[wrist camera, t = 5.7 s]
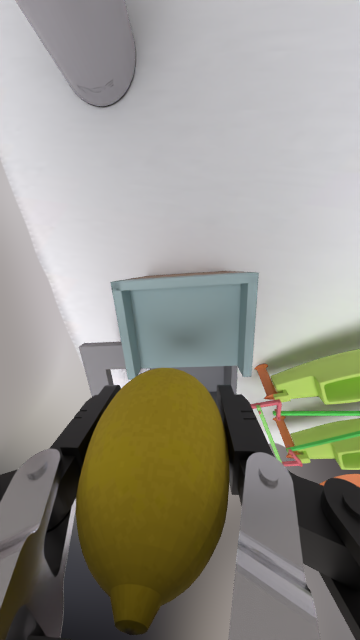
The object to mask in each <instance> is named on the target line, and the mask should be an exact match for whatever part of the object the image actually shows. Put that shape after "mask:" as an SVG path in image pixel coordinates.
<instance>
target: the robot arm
mask: <svg viewBox="0 0 360 640" xmlns="http://www.w3.org/2000/svg"><path fill="white" fill-rule="evenodd" d="M15 1H16V2H17V4H18V6H19V7H20V9H21V10H22V12H23V13H24V15H25V16H26V18H27V20H28V21H29V23H30V24H31V26H32V27H33V29H34V30H35V32H36V34H37V35H38V37H39V38H40V40H41V41H42V43H43V45H44V46H45V48H46V49H47V51H48V52H49V54H50V55H51V57H52V59H53V60H54V62H55V63H56V65H57V66H58V68H59V69H60V71H61V73H62V74H63V76H64V77H65V79H66V80H67V82H68V83H69V85H70V86H71V88H72V89H73V90H74V92H75V93H76V94H77V95H78V96H79V97H80V98H81V99H83V100H84V101H86V102H88V103H89V104H92V105H96V106H106V105H110V104H113V103H114V102H116V101H117V100H119V99H120V98H121V97H122V96H123V95H124V94H125V92H126V91H127V89H128V87H129V86H130V83H131V80H132V78H133V74H134V69H135V59H136V51H135V42H134V37H133V33H132V29H131V25H130V20H129V16H128V12H127V8H126V3H125V0H15ZM120 389H121V388H120V386H119V385H106V386H104V387H103V389H102V390H101V392H100V393H99V394H98V395H94V396H93V397H92V398H90V399H89V400H88V401H87V402H86V403H85V404H84V405H83V406H82V408H81V409H80V411H79V412H78V413H77V414H76V415H75V417H74V419H72V421H71V422H70V423H69V424H68V426H67V427H66V428H65V429H64V431H63V432H62V433H61V434H60V436H59V437H58V438H57V440H56V441H55V442H54V443H53V445H52V446H51V447H50V448H49V449H47V450H43V451H41V452H39V453H37V454H35V455H34V456H32V457H31V458H29V459H28V460H27V461H26V462H25V463H23V464H22V465H21V467H20V468H19V469H18V470H15V471H11V472H8V473H5V474H2V475H0V640H71V639H66V638H60V636H61V629H62V622H63V611H64V593H63V584H64V574H65V568H66V562H67V557H68V551H69V545H70V538H71V533H72V527H73V521H74V516H75V510H76V500H75V499H76V495H77V489H78V483H79V478H80V474H81V471H82V467H83V463H84V459H85V455H86V452H87V449H88V446H89V443H90V440H91V437H92V435H93V432H94V430H95V428H96V426H97V423H98V421H99V420H100V418H101V416H102V414H103V413H104V411H105V410H106V408H107V407H108V405H109V404H110V402H111V401H112V399H113V398H114V397H115V395H116V394H117V393H118V392H119V390H120ZM216 405H217V407H218V409H219V412H220V415H221V418H222V422H223V425H224V429H225V433H226V437H227V443H228V451H229V482H230V487H231V492H232V495H239V497H240V502H241V506H242V512H241V522H240V532H239V541H238V550H237V560H236V570H235V579H234V589H233V600H232V609H231V620H230V629H229V639H228V640H320V634H319V627H318V621H317V615H316V610H315V605H314V601H313V597H312V594H311V592H310V590H309V588H308V587H307V584H306V580H305V575H304V568H303V563H304V564H305V565H308V566H309V567H311V568H313V569H315V570H317V571H319V573H320V574H321V576H322V578H323V580H324V582H325V584H326V586H327V587H328V589H329V591H330V593H331V595H332V597H333V598H334V600H335V602H336V604H337V606H338V608H339V610H340V612H341V613H342V615H343V617H344V619H345V621H346V622H347V624H348V626H349V628H350V630H351V632H352V634H353V636H354V637H355V639H356V640H360V487H358V486H356V485H355V484H353V483H351V482H349V481H347V480H344V479H340V478H330V479H328V480H327V481H326V482H325V484H324V486H323V485H320V484H317V483H315V482H312V481H309V480H306V479H304V478H301V477H298V476H296V475H294V474H293V473H291V472H290V471H288V470H287V469H286V467H285V466H284V465H283V464H282V463H281V462H280V461H279V460H278V459H276V458H275V456H274V455H273V453H272V451H271V449H270V447H269V444H268V442H267V440H266V438H265V436H264V434H263V431H262V429H261V427H260V425H259V423H258V420H257V418H256V416H255V414H254V413H253V410H252V407H251V405H250V403H249V401H248V400H247V399H246V398H245V397H244V396H243V395H234V392H233V389H232V387H231V385H217V395H216Z"/></svg>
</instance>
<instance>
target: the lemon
mask: <svg viewBox="0 0 360 640" xmlns="http://www.w3.org/2000/svg"><path fill="white" fill-rule="evenodd" d="M228 492H229V451H228V443H227V437H226V433H225V429H224V425H223V422H222V418H221V415H220V412H219V409H218V407H217V405H216V403H215V401H214V399H213V398H212V396H211V395H210V393H209V392H208V390H207V389H206V387H205V386H204V385H203V384H202V383H201V382H199V381H198V380H197V379H196V378H195V377H193V376H192V375H190V374H188V373H186V372H184V371H181V370H178V369H174V368H157V369H152V370H149V371H146V372H144V373H142V374H139V375H138V376H136V377H135V378H133V379H132V380H131V381H130V382H128V383H127V384H126V385H125V386H123V387H122V388H121V389H120V390H119V392H118V393H117V394H116V395H115V397H114V398H113V399H112V401H111V402H110V404H109V405H108V407H107V408H106V410H105V411H104V413H103V414H102V416H101V418H100V420H99V421H98V423H97V426H96V428H95V430H94V432H93V435H92V437H91V440H90V443H89V446H88V449H87V452H86V455H85V459H84V463H83V467H82V471H81V474H80V478H79V483H78V489H77V495H76V519H77V529H78V536H79V540H80V545H81V549H82V553H83V556H84V558H85V561H86V563H87V565H88V568H89V570H90V572H91V573H92V575H93V577H94V578H95V580H96V581H97V583H98V584H99V585H100V587H101V588H102V589H103V590H104V591H105V592H106V593H107V594H108V595H109V596H110V599H111V604H112V610H113V615H114V622H115V626H116V628H117V629H119V630H120V631H122V632H124V633H127V634H129V635H138V634H143V633H145V632H147V630H148V628H149V626H150V625H151V623H152V621H153V619H154V617H155V615H156V614H157V611H158V610H159V608H160V606H162V605H164V604H165V603H167V602H169V601H171V600H173V599H174V598H176V597H177V596H179V595H180V594H181V593H183V592H184V591H185V590H186V589H187V588H189V587H190V586H191V584H192V583H193V582H194V581H195V580H196V579H197V578H198V576H199V575H200V574H201V572H202V571H203V569H204V568H205V566H206V565H207V563H208V562H209V560H210V558H211V556H212V554H213V552H214V550H215V548H216V545H217V543H218V541H219V539H220V537H221V534H222V530H223V527H224V523H225V518H226V512H227V505H228Z"/></svg>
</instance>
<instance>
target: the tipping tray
mask: <svg viewBox="0 0 360 640" xmlns="http://www.w3.org/2000/svg"><path fill="white" fill-rule="evenodd" d="M258 276H259V273H256V272H240V273H224V274H208V275H193V276H177V277H161V278H145V279H130V280H120V281H114V282H111V287H112V293H113V298H114V304H115V309H116V315H117V320H118V326H119V331H120V337H121V342H103V343H84V344H82V345H81V346H80V347H79V349H80V353H81V357H82V361H83V364H84V368H85V372H86V376H87V379H88V383H89V387H90V391H91V395H92V397H93V396H94V395H98V394H99V393H100V392H101V390H102V389H103V387H104V386H106V385H113V380H112V375H111V371H110V369H126V370H127V376H128V379H133V378H135V377H136V376H137V375H138V373H139V371H140V369H141V368H172V367H207V366H238V368H239V370H240V371H241V373H242V375H243V377H251V374H252V360H253V346H254V332H255V318H256V304H257V290H258Z"/></svg>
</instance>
